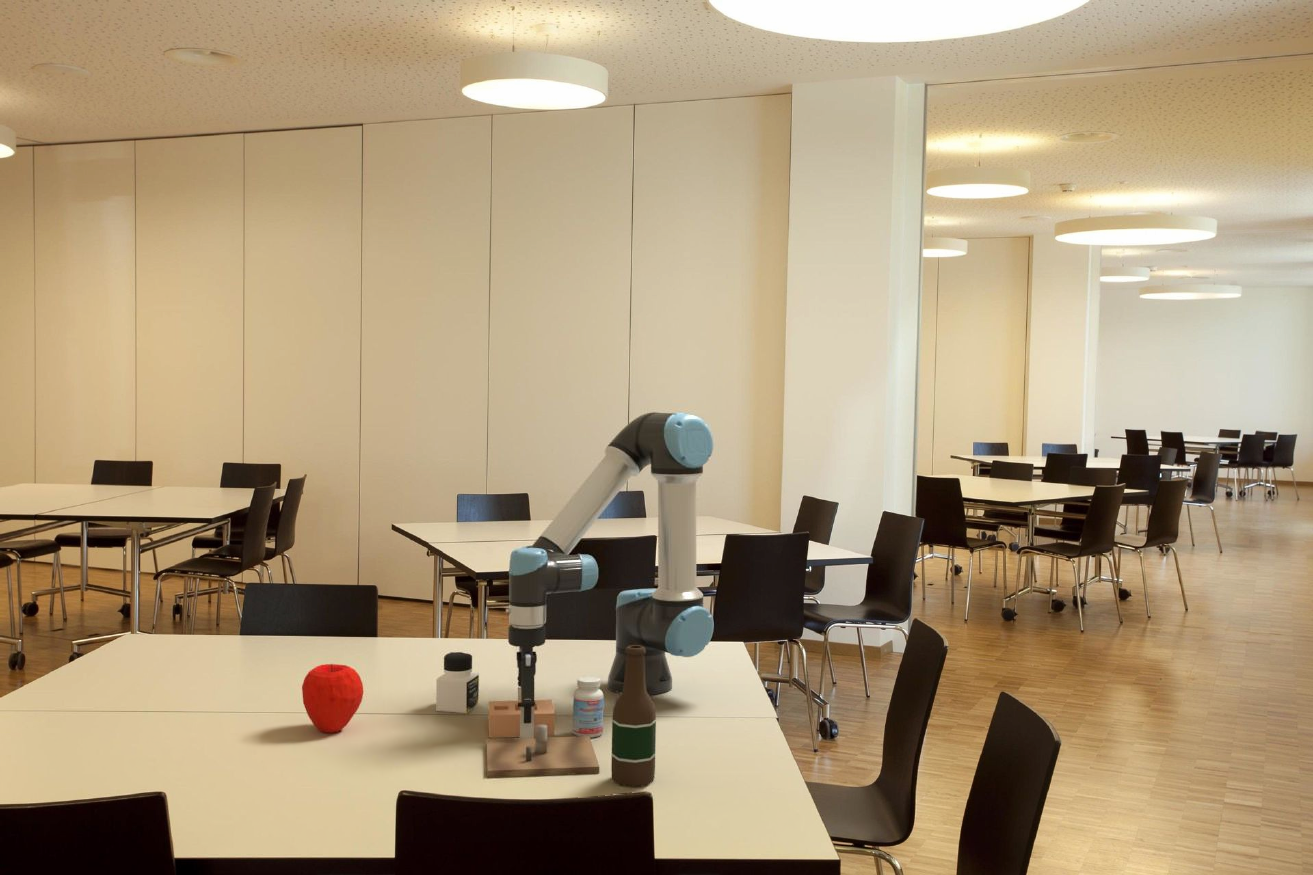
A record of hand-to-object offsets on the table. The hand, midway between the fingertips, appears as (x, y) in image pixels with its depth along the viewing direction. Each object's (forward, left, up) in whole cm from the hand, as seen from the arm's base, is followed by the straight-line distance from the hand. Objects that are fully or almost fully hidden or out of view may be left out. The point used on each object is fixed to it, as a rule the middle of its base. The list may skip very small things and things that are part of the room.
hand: (525, 728), depth 225 cm
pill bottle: (-12, +5, 0) cm, 13 cm away
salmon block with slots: (0, 0, 0) cm, 0 cm away
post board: (-2, +19, 0) cm, 19 cm away
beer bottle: (-18, +32, 0) cm, 37 cm away
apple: (+39, -4, 0) cm, 39 cm away
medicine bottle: (+14, -17, 0) cm, 22 cm away
